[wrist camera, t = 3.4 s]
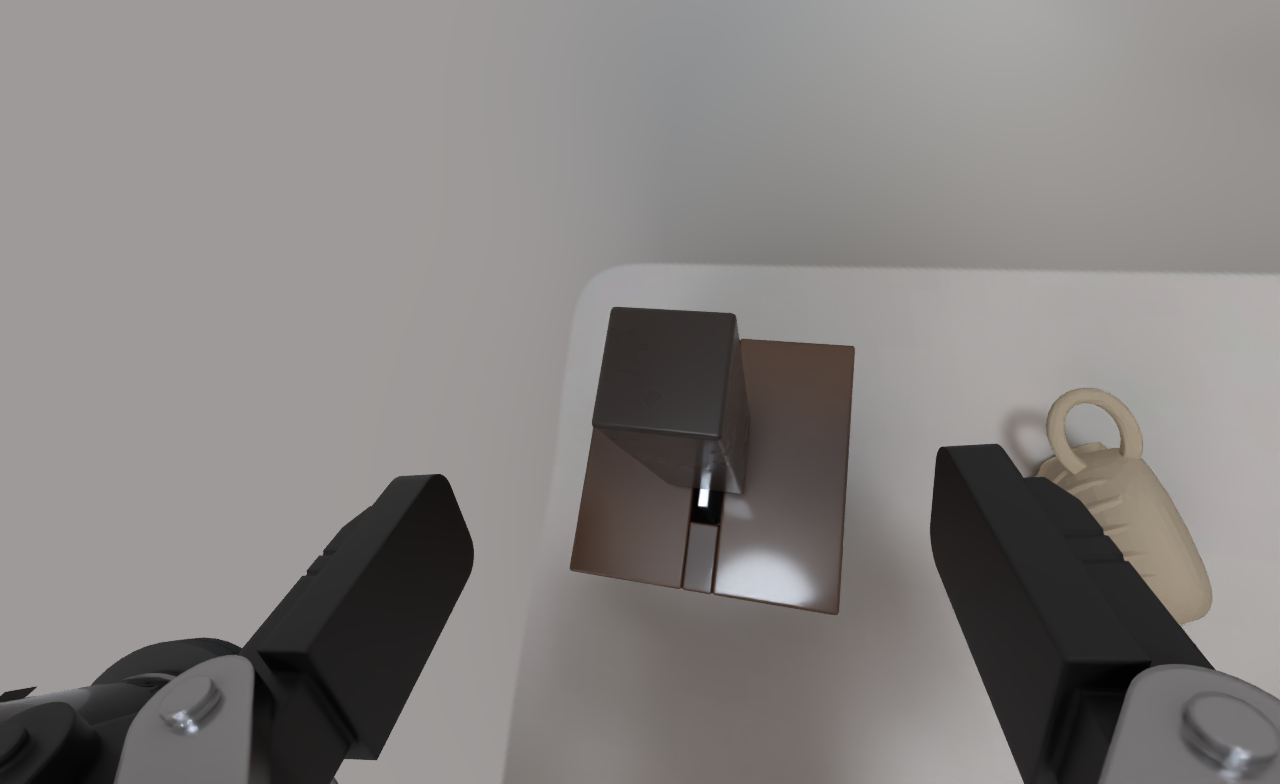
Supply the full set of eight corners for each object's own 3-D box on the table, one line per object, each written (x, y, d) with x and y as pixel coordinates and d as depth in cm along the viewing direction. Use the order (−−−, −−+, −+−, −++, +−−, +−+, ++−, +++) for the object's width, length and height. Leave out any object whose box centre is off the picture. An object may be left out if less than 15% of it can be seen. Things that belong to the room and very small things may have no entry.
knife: (750, 528, 25) (718, 472, 9) (699, 521, 26) (583, 456, 10) (757, 454, 26) (739, 283, 10) (707, 448, 26) (614, 278, 10)
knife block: (816, 598, 24) (838, 616, 16) (626, 567, 26) (568, 570, 18) (830, 407, 26) (855, 345, 18) (652, 392, 28) (609, 329, 20)
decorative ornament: (1068, 645, 22) (1158, 671, 17) (984, 429, 24) (1041, 395, 19) (1188, 625, 21) (1320, 646, 16) (1090, 406, 24) (1176, 365, 19)
